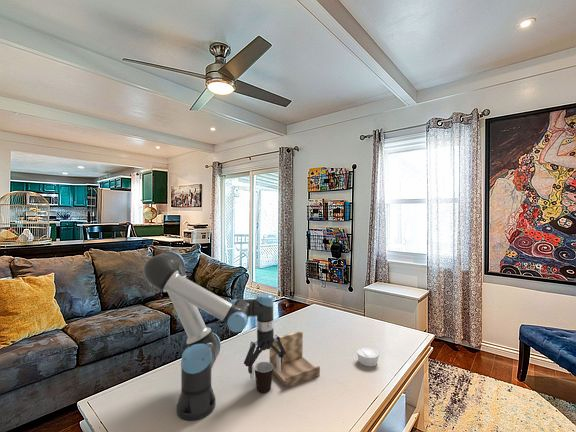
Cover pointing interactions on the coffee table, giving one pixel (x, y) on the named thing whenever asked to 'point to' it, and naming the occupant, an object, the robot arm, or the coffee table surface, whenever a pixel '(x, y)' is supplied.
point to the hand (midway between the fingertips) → (265, 374)
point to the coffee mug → (263, 376)
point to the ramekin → (368, 356)
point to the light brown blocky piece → (292, 361)
